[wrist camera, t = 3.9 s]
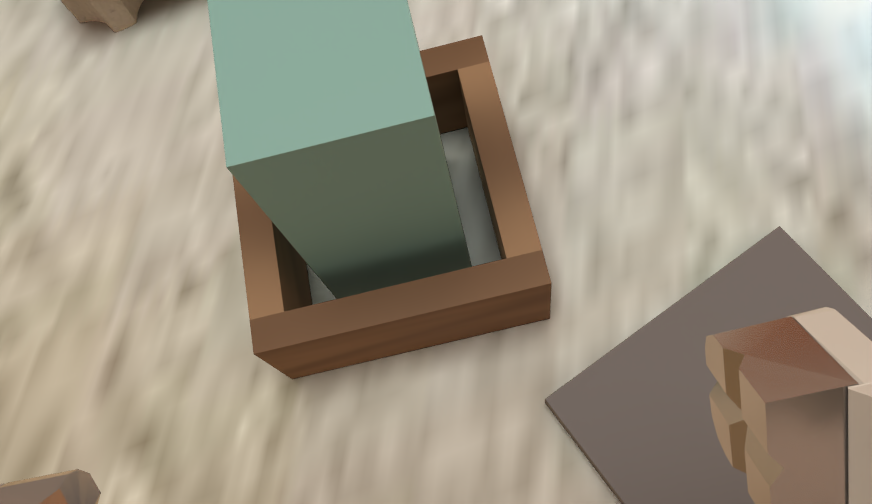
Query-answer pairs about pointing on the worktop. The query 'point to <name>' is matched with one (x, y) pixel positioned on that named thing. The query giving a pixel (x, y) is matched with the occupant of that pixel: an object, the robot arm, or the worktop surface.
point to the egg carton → (106, 12)
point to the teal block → (338, 137)
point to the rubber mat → (687, 379)
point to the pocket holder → (420, 299)
